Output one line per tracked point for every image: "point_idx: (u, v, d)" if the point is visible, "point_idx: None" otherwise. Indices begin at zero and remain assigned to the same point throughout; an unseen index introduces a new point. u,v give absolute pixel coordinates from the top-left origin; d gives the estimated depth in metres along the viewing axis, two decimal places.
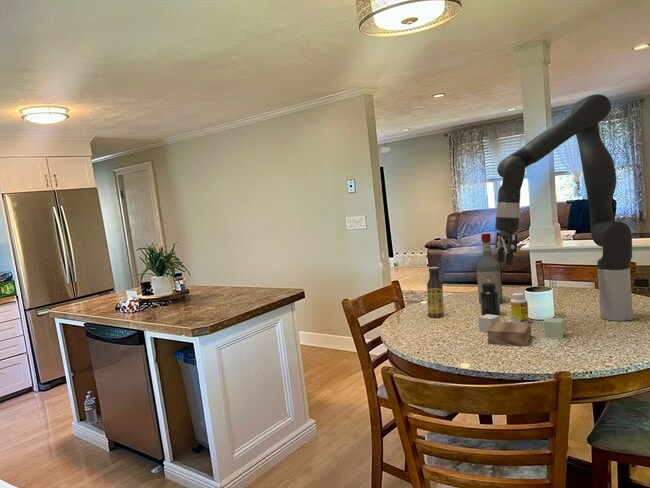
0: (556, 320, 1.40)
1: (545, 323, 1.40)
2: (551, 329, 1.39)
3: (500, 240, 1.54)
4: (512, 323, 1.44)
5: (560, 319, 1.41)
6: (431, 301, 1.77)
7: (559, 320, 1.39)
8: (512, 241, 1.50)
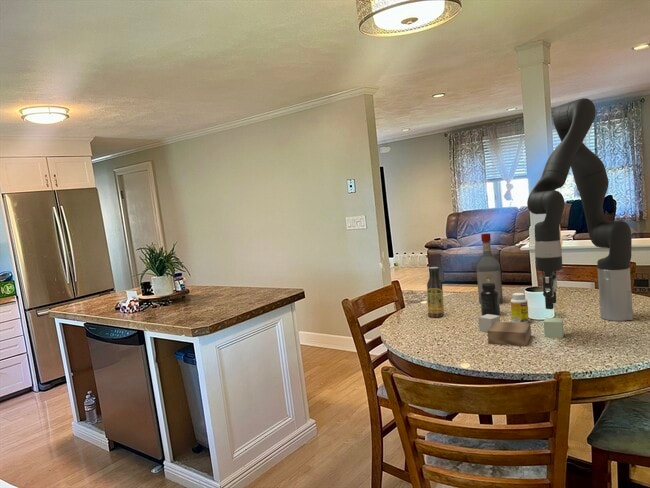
0: (556, 320, 1.40)
1: (545, 323, 1.40)
2: (551, 329, 1.39)
3: None
4: (512, 323, 1.44)
5: (560, 319, 1.41)
6: (431, 301, 1.77)
7: (559, 320, 1.39)
8: (553, 282, 1.37)
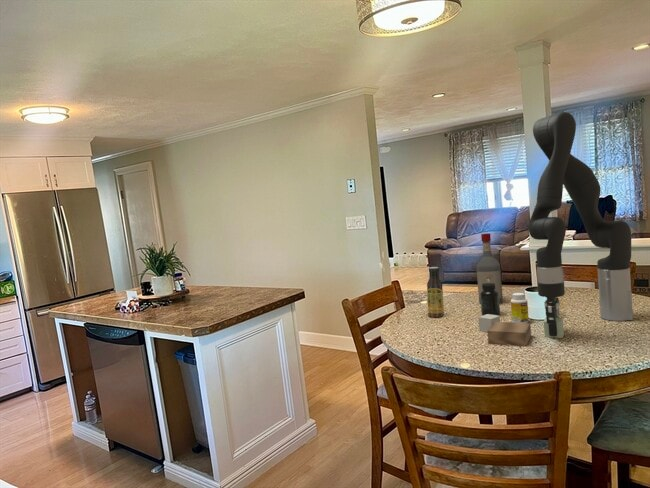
0: None
1: (545, 323, 1.40)
2: None
3: None
4: (512, 323, 1.44)
5: (560, 319, 1.41)
6: (431, 301, 1.77)
7: (559, 320, 1.39)
8: (555, 309, 1.38)
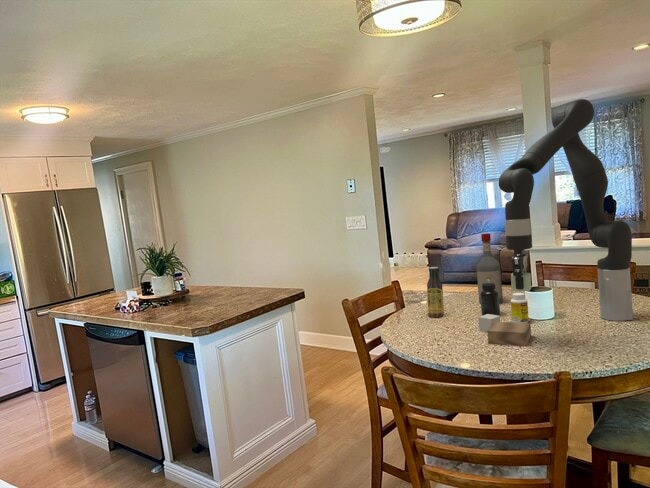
0: (523, 274, 1.39)
1: (512, 276, 1.39)
2: None
3: None
4: (512, 323, 1.44)
5: (527, 273, 1.39)
6: (431, 301, 1.77)
7: (526, 274, 1.38)
8: (522, 262, 1.37)
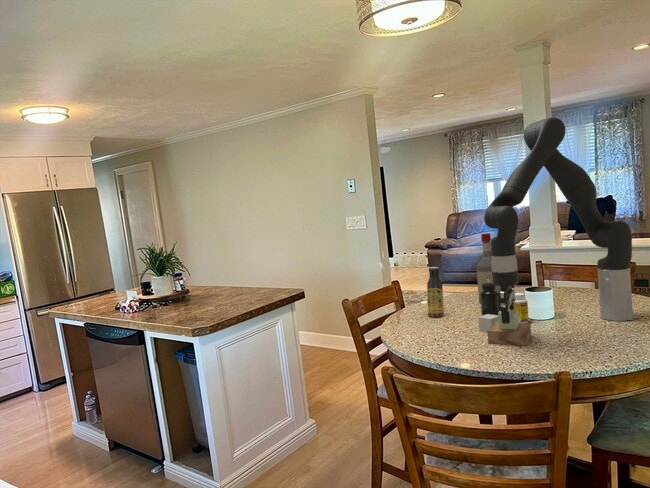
0: (510, 311, 1.40)
1: (499, 314, 1.40)
2: None
3: None
4: None
5: (515, 310, 1.41)
6: (431, 301, 1.77)
7: (513, 312, 1.39)
8: (509, 297, 1.38)
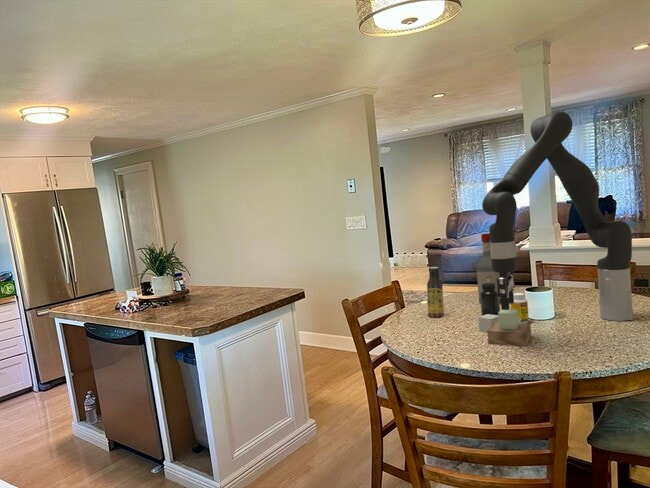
0: (510, 311, 1.40)
1: (499, 314, 1.40)
2: (505, 320, 1.39)
3: None
4: None
5: (515, 310, 1.41)
6: (431, 301, 1.77)
7: (513, 312, 1.39)
8: (508, 283, 1.37)
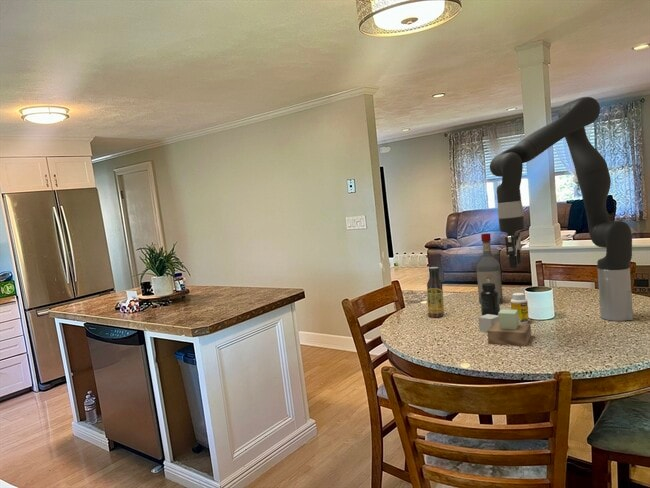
0: (510, 311, 1.40)
1: (499, 314, 1.40)
2: (505, 320, 1.39)
3: None
4: None
5: (515, 310, 1.41)
6: (431, 301, 1.77)
7: (513, 312, 1.39)
8: (516, 242, 1.41)
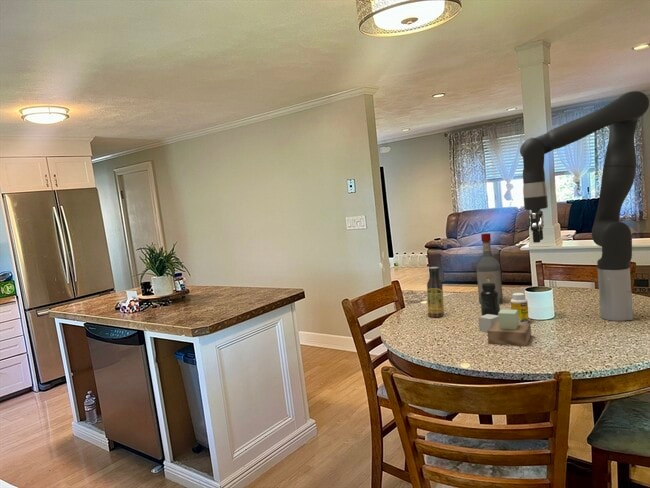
0: (510, 311, 1.40)
1: (499, 314, 1.40)
2: (505, 320, 1.39)
3: None
4: None
5: (515, 310, 1.41)
6: (431, 301, 1.77)
7: (513, 312, 1.39)
8: (539, 219, 1.55)
